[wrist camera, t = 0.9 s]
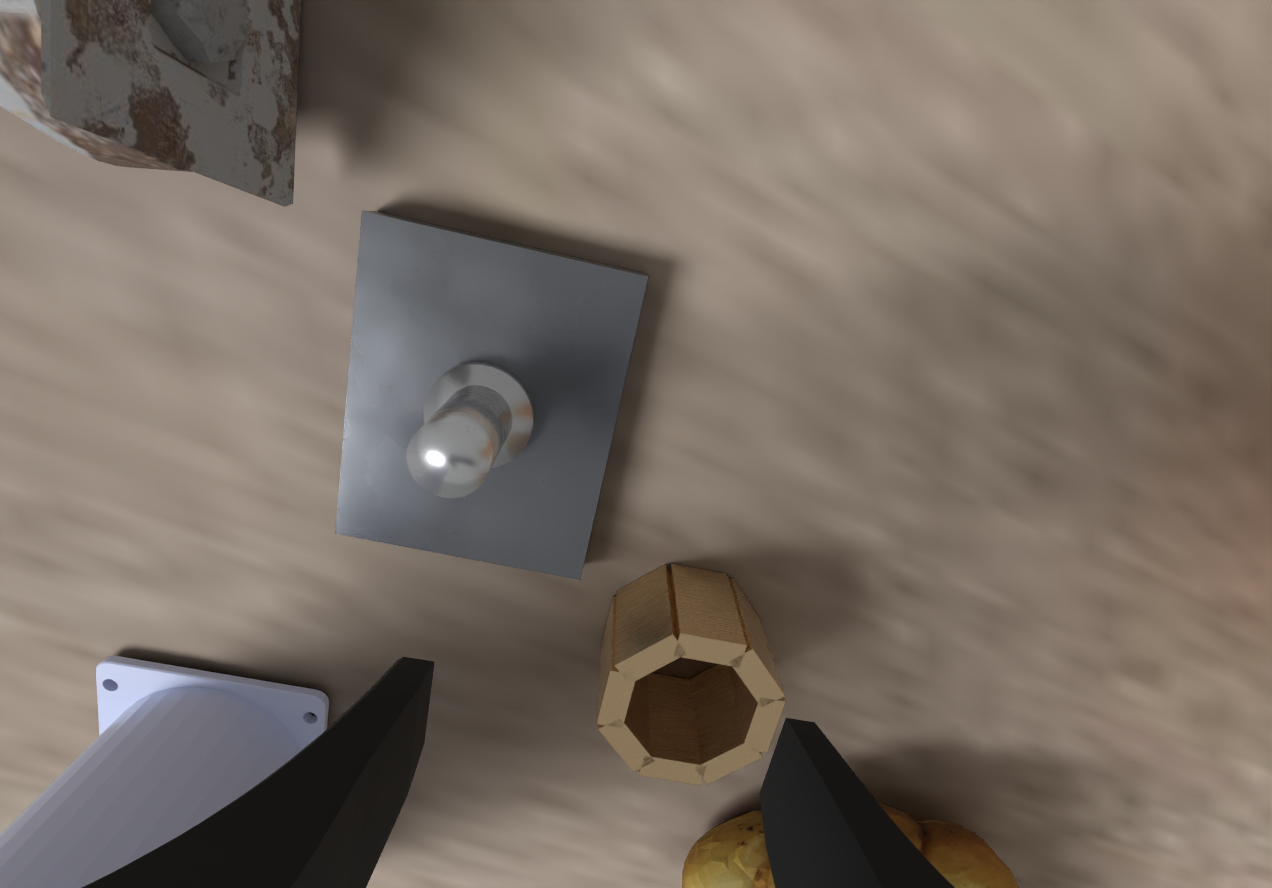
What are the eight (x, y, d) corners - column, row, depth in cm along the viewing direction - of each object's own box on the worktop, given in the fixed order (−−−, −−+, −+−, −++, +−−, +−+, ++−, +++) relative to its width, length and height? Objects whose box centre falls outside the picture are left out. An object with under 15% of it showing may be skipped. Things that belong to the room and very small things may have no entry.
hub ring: (733, 705, 25) (751, 793, 21) (592, 680, 24) (585, 766, 21) (774, 583, 23) (802, 655, 19) (623, 554, 23) (622, 622, 19)
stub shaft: (582, 564, 23) (570, 656, 18) (347, 519, 22) (271, 603, 17) (647, 273, 20) (653, 293, 15) (374, 210, 19) (290, 210, 14)
